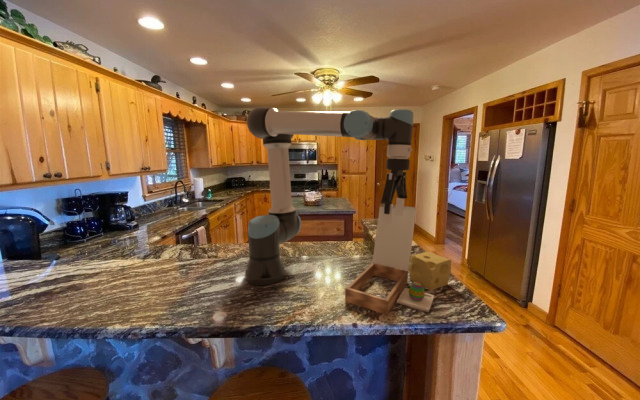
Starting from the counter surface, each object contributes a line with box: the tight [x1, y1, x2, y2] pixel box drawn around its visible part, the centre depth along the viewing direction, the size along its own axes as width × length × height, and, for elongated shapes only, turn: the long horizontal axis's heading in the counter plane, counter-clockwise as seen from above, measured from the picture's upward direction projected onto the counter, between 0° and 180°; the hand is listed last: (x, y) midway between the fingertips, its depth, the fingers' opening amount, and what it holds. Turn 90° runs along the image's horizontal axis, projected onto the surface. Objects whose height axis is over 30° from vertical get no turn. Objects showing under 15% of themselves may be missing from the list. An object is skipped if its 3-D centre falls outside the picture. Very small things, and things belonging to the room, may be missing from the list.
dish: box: [396, 287, 435, 313], centre depth 85 cm, size 10×10×1 cm
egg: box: [409, 281, 426, 302], centre depth 85 cm, size 5×5×6 cm
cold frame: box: [344, 262, 409, 316], centre depth 92 cm, size 14×29×14 cm, turn 148°
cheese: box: [409, 251, 452, 292], centre depth 98 cm, size 10×11×10 cm
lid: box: [371, 203, 417, 272], centre depth 102 cm, size 14×24×1 cm
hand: (393, 219), depth 91 cm, fingers open, 13 cm apart
